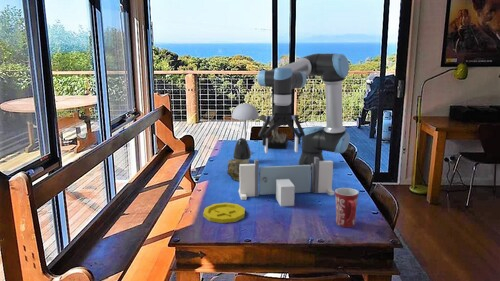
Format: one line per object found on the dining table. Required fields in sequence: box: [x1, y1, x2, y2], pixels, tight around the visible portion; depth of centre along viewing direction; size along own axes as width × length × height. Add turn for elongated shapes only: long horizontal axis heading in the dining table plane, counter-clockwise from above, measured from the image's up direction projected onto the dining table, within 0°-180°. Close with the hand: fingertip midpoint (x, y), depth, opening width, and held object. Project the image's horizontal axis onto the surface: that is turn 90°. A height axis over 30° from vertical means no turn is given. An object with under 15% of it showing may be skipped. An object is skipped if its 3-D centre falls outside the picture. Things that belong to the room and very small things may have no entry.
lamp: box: [231, 102, 259, 155], centre depth 264 cm, size 17×17×33 cm
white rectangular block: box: [275, 179, 295, 207], centre depth 185 cm, size 6×10×9 cm, turn 9°
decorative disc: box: [203, 202, 246, 224], centre depth 172 cm, size 17×18×2 cm
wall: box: [238, 157, 336, 201], centre depth 194 cm, size 44×10×17 cm, turn 98°
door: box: [259, 163, 314, 196], centre depth 193 cm, size 26×3×14 cm, turn 98°
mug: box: [334, 187, 360, 228], centre depth 160 cm, size 13×9×14 cm
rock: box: [226, 158, 250, 182], centre depth 220 cm, size 19×10×10 cm
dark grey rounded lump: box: [232, 137, 252, 163], centre depth 244 cm, size 10×10×15 cm
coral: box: [258, 114, 289, 150], centre depth 287 cm, size 25×20×21 cm
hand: (281, 152), depth 182 cm, fingers open, 13 cm apart
